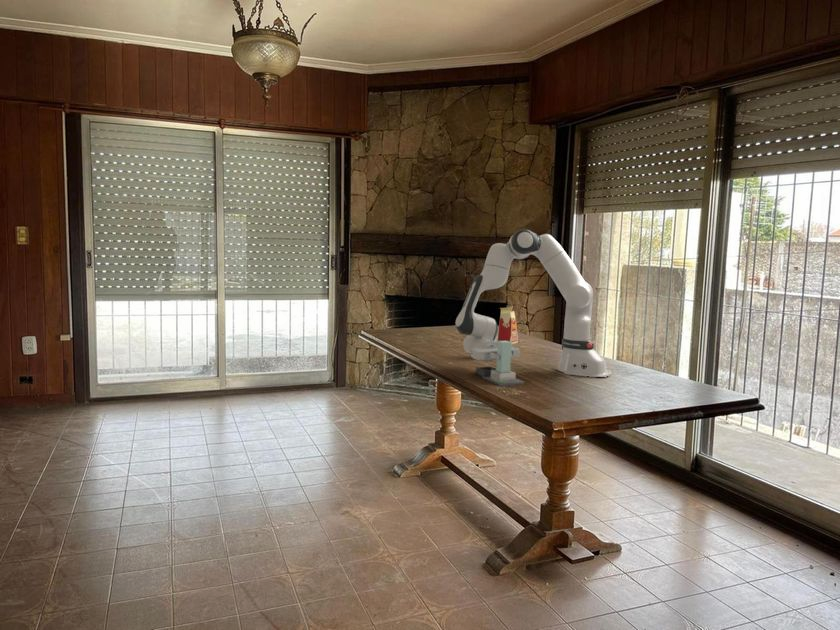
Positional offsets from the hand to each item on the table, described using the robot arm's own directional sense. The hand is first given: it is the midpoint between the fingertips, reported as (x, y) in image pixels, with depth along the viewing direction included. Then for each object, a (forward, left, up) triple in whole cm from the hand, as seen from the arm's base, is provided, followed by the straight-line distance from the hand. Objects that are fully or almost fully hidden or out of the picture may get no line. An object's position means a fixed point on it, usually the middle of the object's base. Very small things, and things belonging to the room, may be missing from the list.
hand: (505, 356), depth 252 cm
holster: (+11, -7, -10) cm, 16 cm away
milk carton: (+39, -84, -10) cm, 93 cm away
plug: (+1, 0, -8) cm, 8 cm away
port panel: (+1, 0, -10) cm, 10 cm away
